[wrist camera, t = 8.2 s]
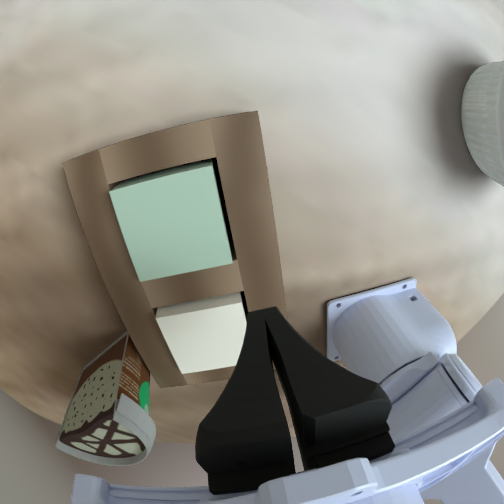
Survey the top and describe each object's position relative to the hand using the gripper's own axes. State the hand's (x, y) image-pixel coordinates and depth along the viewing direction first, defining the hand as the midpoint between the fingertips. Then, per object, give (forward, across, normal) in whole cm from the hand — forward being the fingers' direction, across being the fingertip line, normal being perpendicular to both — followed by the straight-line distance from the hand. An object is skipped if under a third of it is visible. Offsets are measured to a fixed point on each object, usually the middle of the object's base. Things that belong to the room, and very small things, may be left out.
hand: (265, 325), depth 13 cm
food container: (+10, +14, +11) cm, 20 cm away
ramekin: (+10, -26, -8) cm, 29 cm away
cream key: (+8, +4, +6) cm, 11 cm away
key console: (+9, +4, +1) cm, 10 cm away
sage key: (+8, +4, -4) cm, 10 cm away
